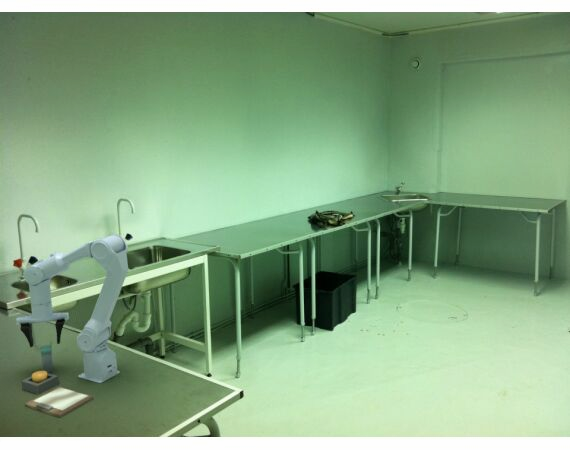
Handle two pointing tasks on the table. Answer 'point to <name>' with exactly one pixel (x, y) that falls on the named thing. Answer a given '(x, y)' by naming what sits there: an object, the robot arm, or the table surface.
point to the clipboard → (59, 401)
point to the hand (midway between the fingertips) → (45, 344)
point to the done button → (39, 376)
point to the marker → (47, 358)
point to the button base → (40, 384)
